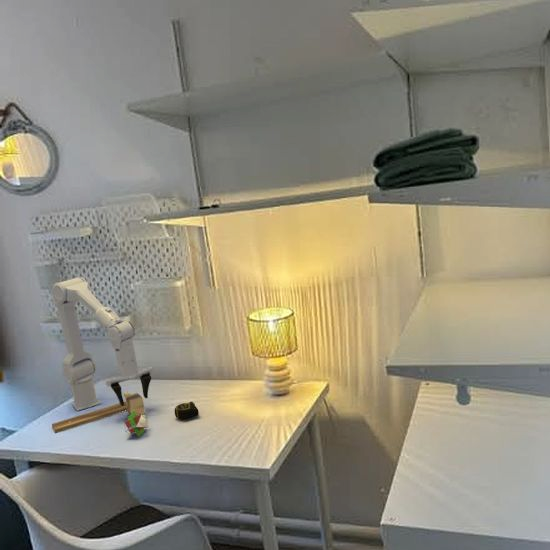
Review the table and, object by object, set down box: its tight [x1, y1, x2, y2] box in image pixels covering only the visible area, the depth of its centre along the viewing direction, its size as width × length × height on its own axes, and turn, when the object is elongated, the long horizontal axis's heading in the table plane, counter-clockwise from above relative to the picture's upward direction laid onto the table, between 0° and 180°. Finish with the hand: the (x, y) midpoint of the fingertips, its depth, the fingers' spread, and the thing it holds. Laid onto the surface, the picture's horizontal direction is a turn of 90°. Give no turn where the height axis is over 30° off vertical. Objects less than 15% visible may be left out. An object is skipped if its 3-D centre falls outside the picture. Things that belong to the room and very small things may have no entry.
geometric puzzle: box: [123, 411, 149, 438], centre depth 175 cm, size 7×7×8 cm
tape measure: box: [174, 401, 200, 421], centre depth 183 cm, size 7×7×4 cm
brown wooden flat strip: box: [51, 400, 127, 434], centre depth 194 cm, size 6×28×1 cm, turn 119°
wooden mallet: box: [123, 391, 147, 416], centre depth 193 cm, size 13×4×6 cm, turn 29°
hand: (134, 401), depth 190 cm, fingers open, 7 cm apart
